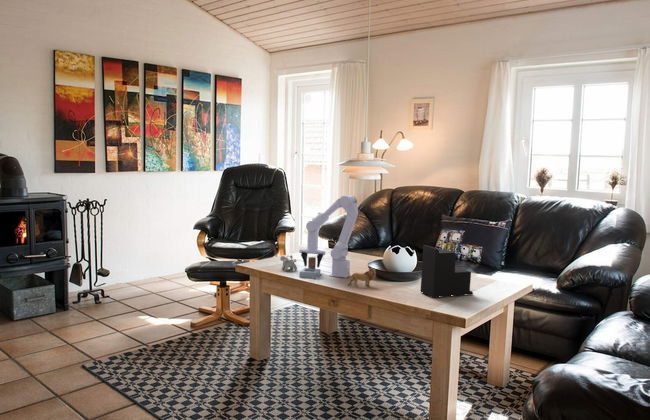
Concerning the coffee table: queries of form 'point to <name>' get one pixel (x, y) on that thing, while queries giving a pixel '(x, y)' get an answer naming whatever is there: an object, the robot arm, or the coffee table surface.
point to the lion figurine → (363, 277)
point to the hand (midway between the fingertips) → (311, 266)
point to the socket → (310, 273)
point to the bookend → (443, 274)
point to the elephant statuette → (288, 262)
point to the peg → (312, 263)
